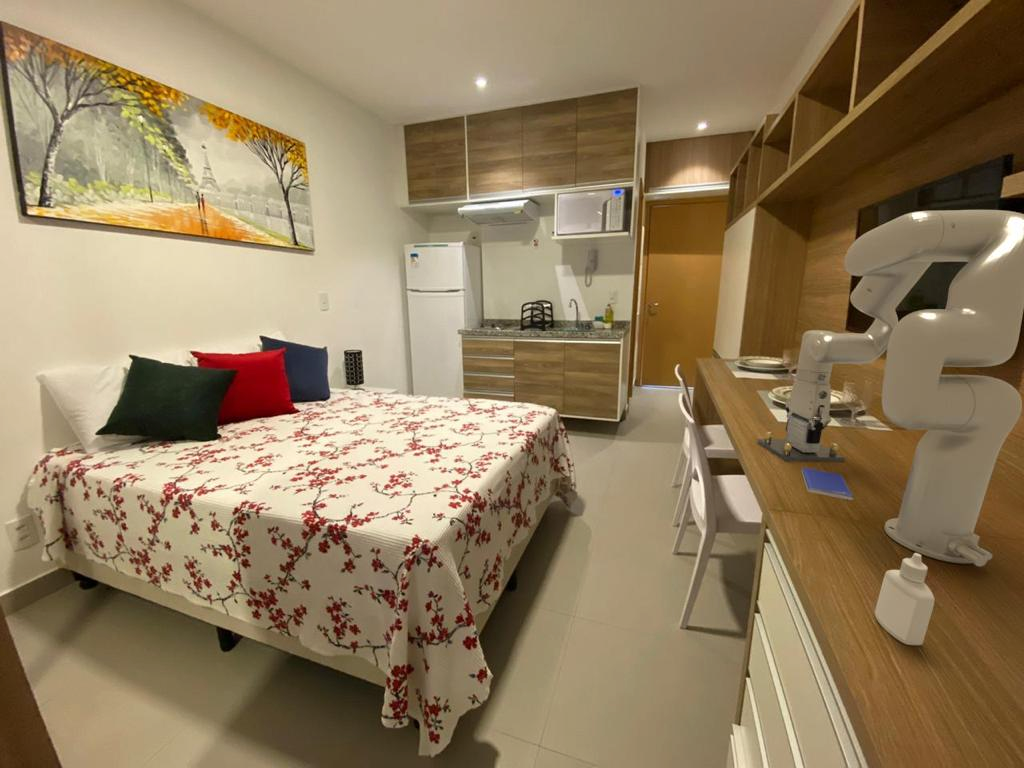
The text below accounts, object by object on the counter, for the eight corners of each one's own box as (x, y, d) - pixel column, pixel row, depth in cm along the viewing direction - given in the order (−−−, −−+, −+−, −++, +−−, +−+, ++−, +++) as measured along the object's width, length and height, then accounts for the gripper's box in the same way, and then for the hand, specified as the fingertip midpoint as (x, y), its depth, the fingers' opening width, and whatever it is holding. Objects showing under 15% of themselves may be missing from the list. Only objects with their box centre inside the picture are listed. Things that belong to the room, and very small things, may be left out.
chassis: (844, 461, 111) (847, 447, 110) (785, 461, 111) (787, 446, 110) (810, 443, 124) (813, 429, 123) (757, 442, 124) (759, 429, 123)
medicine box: (818, 453, 113) (824, 422, 111) (802, 453, 113) (807, 422, 111) (799, 442, 121) (804, 414, 119) (784, 442, 121) (788, 414, 119)
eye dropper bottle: (880, 637, 56) (901, 560, 53) (872, 610, 61) (890, 538, 58) (924, 652, 54) (948, 573, 51) (912, 622, 59) (933, 548, 56)
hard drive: (853, 496, 91) (842, 474, 102) (808, 487, 95) (802, 467, 106) (852, 502, 92) (840, 480, 102) (807, 493, 95) (801, 472, 106)
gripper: (852, 384, 104) (838, 449, 108) (804, 370, 121) (794, 426, 125) (822, 384, 104) (809, 449, 108) (778, 369, 121) (769, 426, 125)
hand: (801, 437), depth 116 cm, fingers closed on medicine box, 8 cm apart
